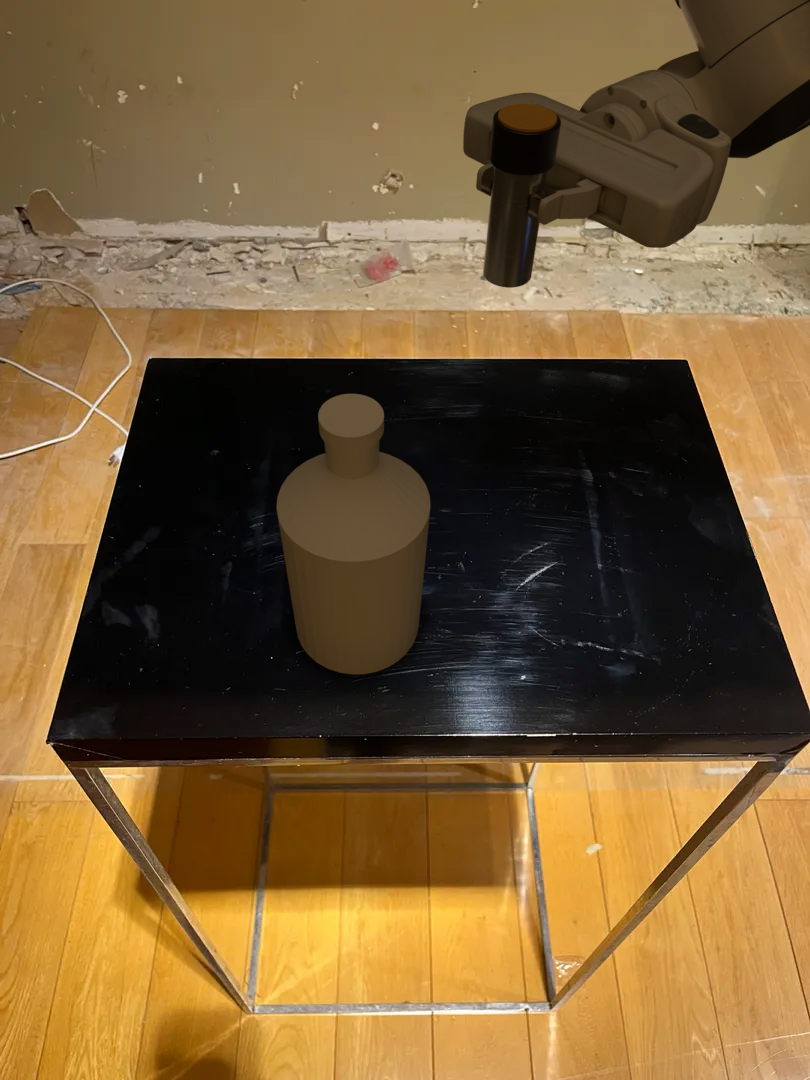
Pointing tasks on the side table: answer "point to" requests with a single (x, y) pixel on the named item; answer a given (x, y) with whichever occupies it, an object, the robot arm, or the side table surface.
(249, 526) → the side table surface
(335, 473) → the bottle
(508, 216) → the torch
